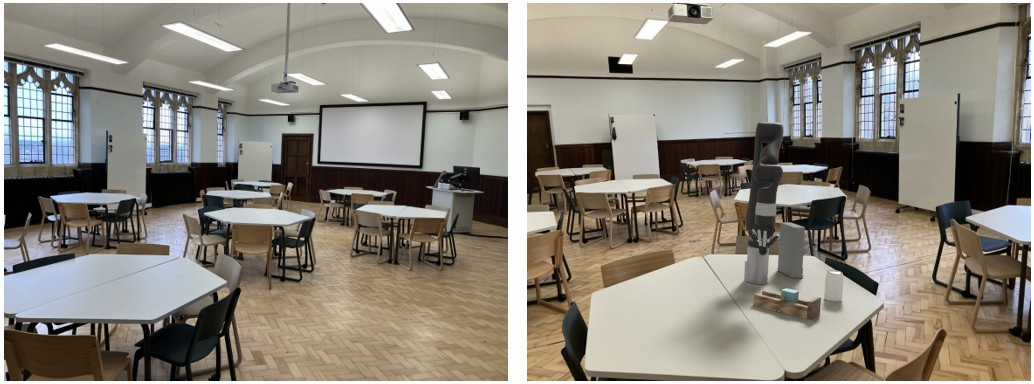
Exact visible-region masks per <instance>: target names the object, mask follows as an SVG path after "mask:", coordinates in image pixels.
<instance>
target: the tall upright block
mask: <svg viewBox="0 0 1034 384" xmlns="http://www.w3.org/2000/svg"><path fill="white" fill-rule="evenodd" d="M779 225H780V226H779V235H781V237H780V238H779V239H778V240H779V242H778V243H779V244H778V257H777V259H778V260H777V267H776V268H777V272H781V273H783V274H784V275H786V276H787V277H789V278H790V279H793V278H794V279H795V278H796V279H797V278H798V279H799V278H800V279H802V278H804V275H803V273H804V266H803V265H804V251H805V250H804V249H805V235H806V234H805V233H806V227H805V226H802V225H799V224H796V223H793V222H781V221H780V224H779Z"/></svg>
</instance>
